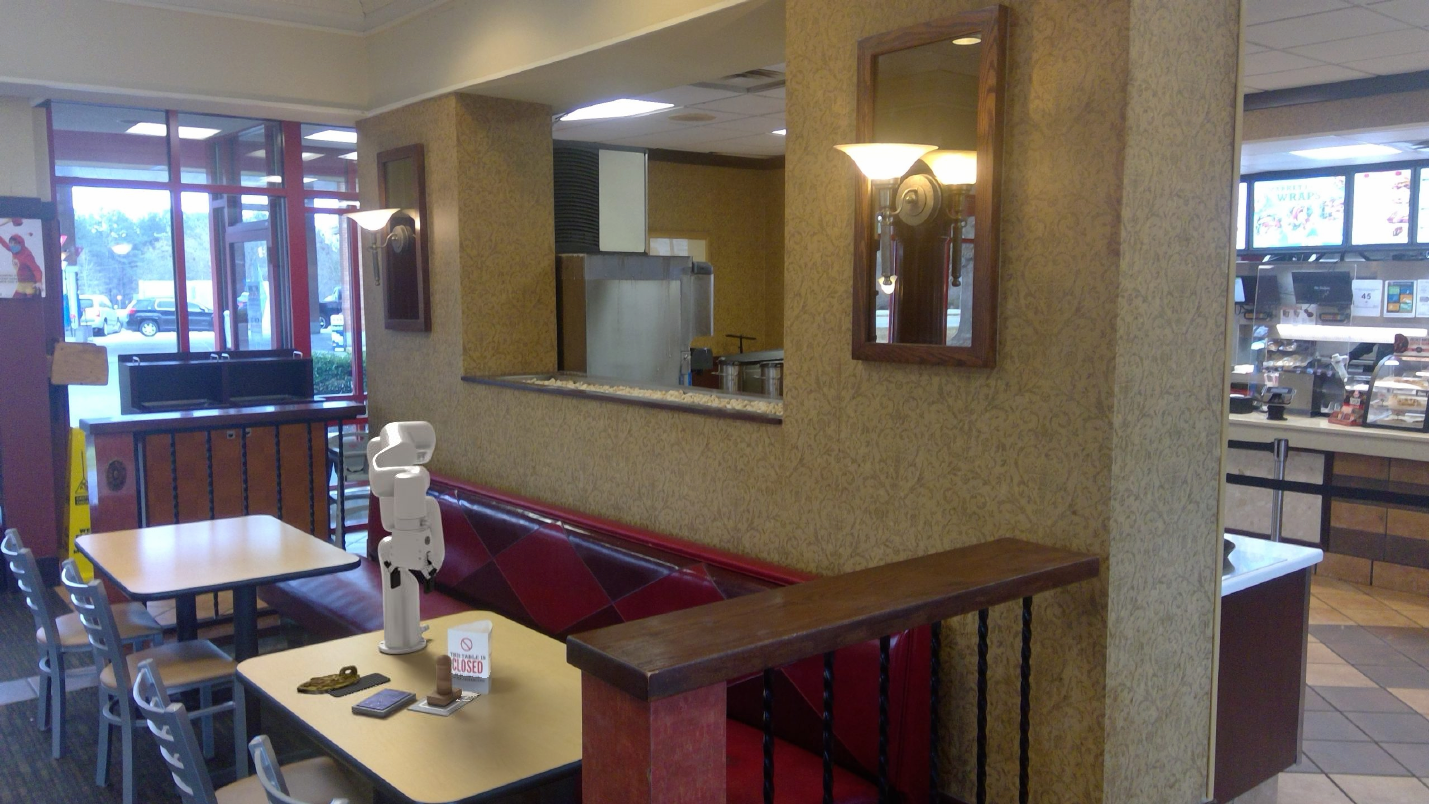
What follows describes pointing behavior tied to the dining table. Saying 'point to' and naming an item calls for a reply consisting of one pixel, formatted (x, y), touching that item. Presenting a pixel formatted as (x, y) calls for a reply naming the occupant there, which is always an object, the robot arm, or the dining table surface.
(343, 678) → the brass ornament
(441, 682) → the stamp
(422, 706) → the stamp card
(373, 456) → the robot arm
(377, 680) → the phone
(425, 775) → the dining table surface
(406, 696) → the ink pad
